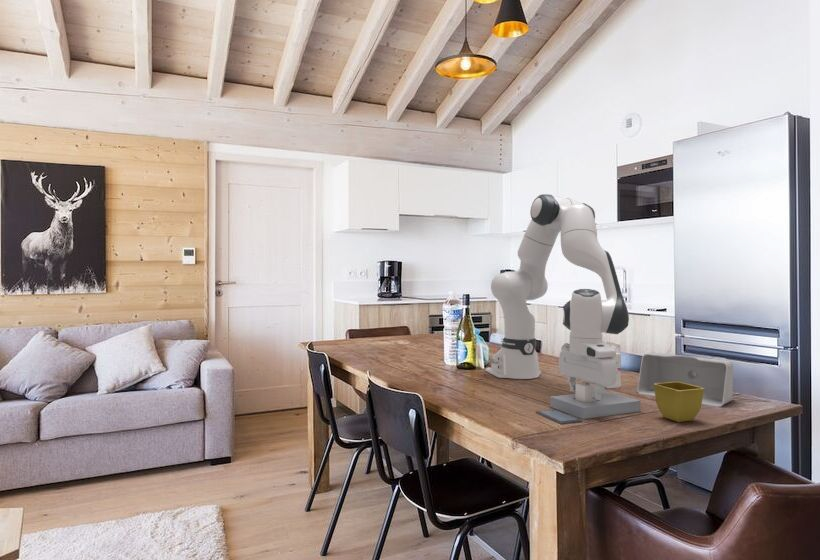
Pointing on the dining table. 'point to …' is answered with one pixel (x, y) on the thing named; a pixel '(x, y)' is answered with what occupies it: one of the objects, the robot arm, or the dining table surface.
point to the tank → (688, 375)
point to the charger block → (585, 392)
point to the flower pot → (678, 400)
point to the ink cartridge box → (618, 365)
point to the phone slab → (558, 417)
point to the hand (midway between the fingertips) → (585, 395)
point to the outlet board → (595, 405)
